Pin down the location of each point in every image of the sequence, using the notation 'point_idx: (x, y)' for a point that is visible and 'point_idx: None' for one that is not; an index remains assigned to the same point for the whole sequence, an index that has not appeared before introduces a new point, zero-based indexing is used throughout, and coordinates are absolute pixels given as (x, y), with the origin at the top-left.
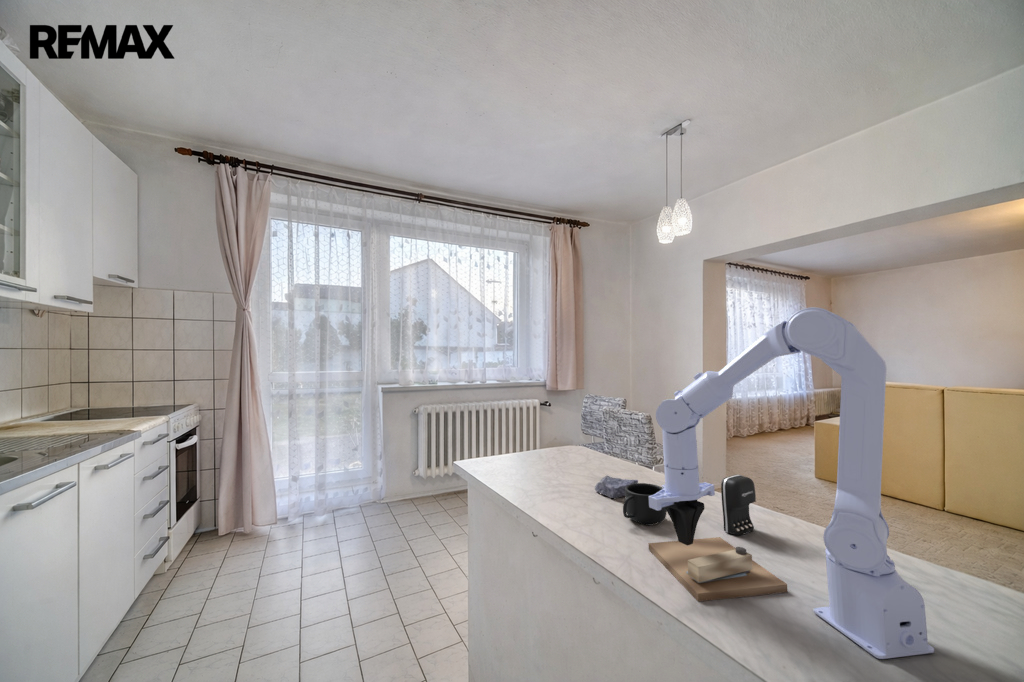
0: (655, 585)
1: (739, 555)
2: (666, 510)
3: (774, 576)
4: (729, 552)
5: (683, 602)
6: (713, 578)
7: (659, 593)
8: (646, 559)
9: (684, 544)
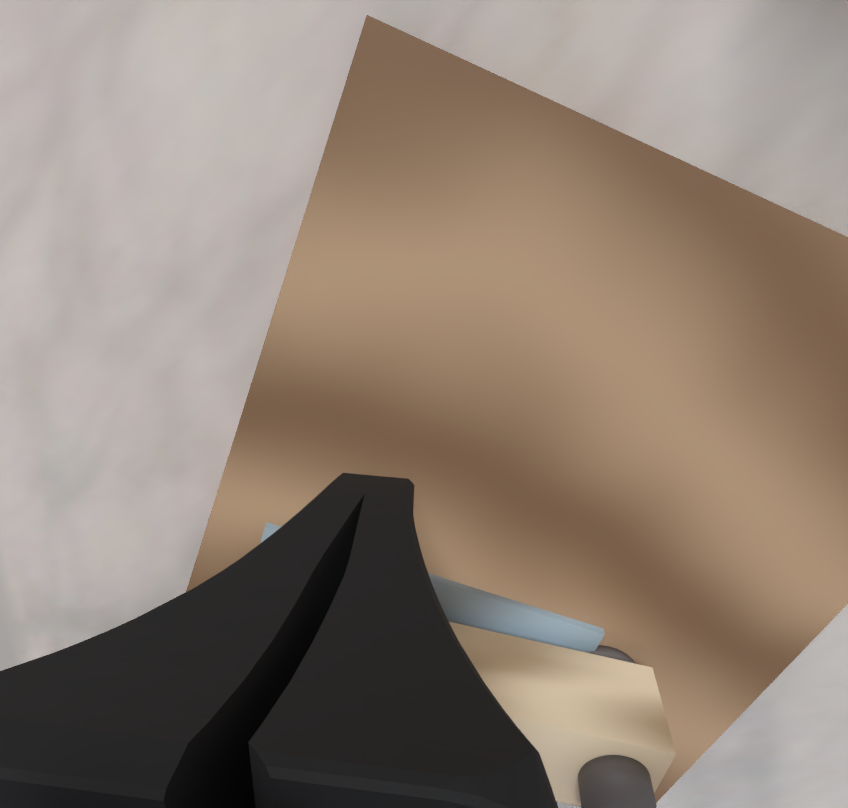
0: (73, 429)
1: (559, 787)
2: (75, 650)
3: (668, 779)
4: (545, 742)
5: (115, 589)
6: None
7: (48, 487)
8: (231, 157)
9: (651, 253)
